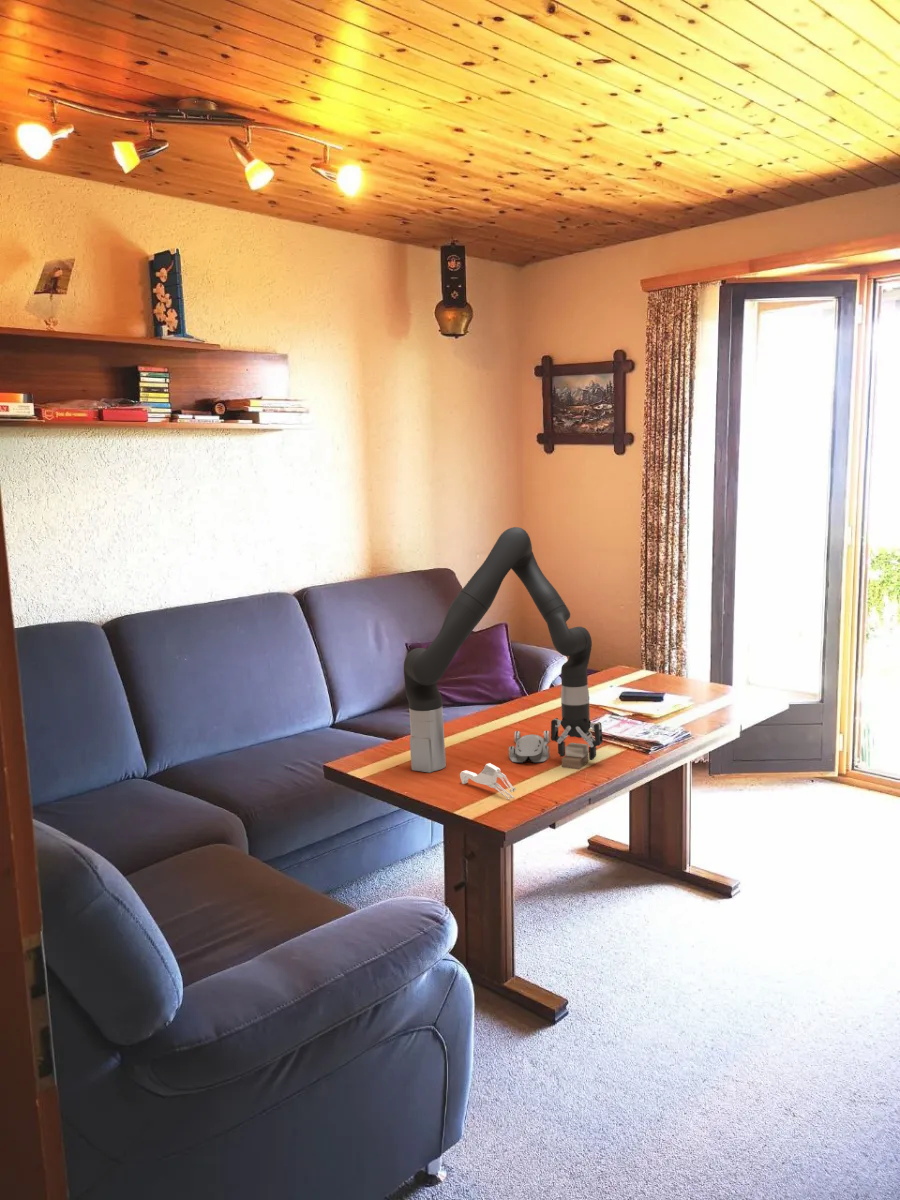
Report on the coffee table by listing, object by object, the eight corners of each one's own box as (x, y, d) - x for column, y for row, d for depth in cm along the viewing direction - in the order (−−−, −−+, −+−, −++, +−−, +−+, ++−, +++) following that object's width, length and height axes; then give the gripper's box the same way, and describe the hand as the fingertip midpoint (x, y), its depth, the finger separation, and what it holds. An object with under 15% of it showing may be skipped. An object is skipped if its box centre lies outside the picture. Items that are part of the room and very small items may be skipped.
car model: (551, 740, 276) (550, 723, 276) (548, 766, 253) (547, 749, 252) (514, 740, 278) (513, 724, 277) (507, 767, 254) (506, 749, 253)
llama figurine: (507, 819, 233) (462, 778, 244) (518, 783, 228) (471, 743, 239) (502, 821, 231) (457, 780, 243) (512, 785, 227) (466, 745, 238)
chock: (571, 759, 257) (570, 742, 256) (588, 761, 254) (588, 744, 253) (561, 767, 251) (561, 750, 250) (579, 769, 248) (578, 751, 247)
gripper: (545, 701, 251) (547, 759, 254) (595, 706, 244) (597, 764, 247) (556, 695, 258) (558, 750, 260) (604, 699, 251) (606, 756, 253)
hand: (577, 757), depth 253 cm, fingers open, 8 cm apart
